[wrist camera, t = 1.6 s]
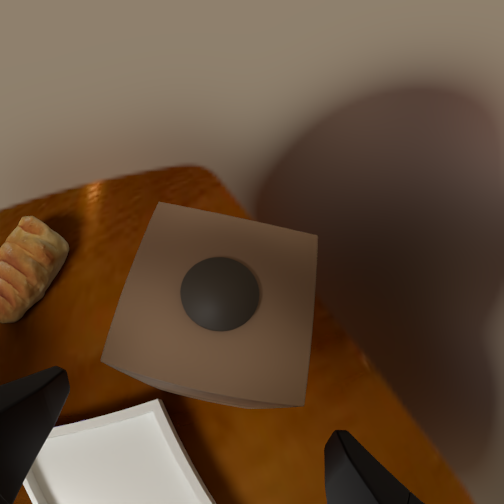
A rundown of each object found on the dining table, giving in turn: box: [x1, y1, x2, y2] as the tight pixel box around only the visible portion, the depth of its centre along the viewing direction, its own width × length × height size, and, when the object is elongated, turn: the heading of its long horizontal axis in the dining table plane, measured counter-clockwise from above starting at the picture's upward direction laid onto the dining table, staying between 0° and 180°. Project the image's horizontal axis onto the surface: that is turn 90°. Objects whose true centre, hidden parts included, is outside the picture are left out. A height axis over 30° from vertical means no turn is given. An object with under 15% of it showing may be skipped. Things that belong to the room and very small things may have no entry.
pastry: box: [0, 216, 69, 323], centre depth 18 cm, size 9×7×4 cm
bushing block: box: [101, 202, 318, 409], centre depth 14 cm, size 6×6×12 cm
